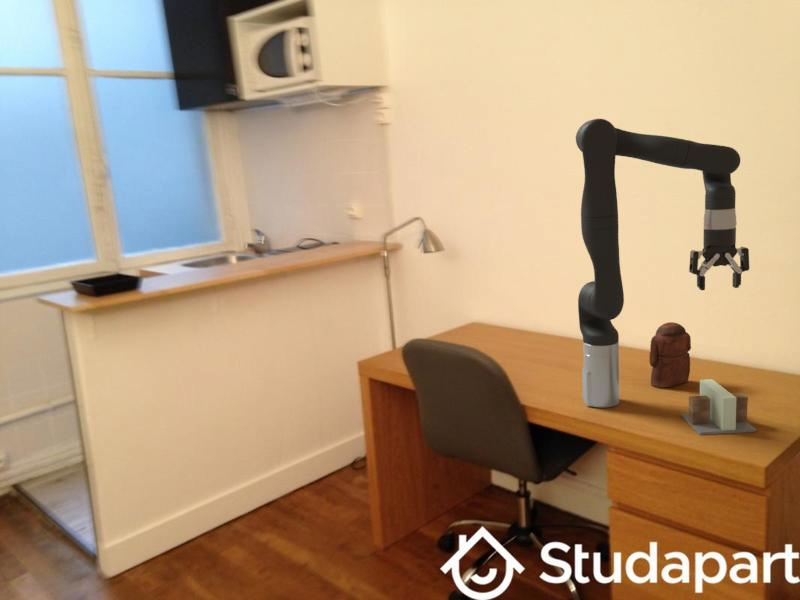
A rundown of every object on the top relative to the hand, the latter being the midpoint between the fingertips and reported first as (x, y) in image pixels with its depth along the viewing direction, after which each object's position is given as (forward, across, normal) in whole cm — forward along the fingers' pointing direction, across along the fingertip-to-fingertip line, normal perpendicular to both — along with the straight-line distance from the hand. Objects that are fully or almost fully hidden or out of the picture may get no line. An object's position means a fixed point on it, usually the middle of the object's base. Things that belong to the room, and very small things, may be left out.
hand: (718, 288), depth 180 cm
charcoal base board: (+30, +6, +17) cm, 35 cm away
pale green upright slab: (+30, +6, +16) cm, 34 cm away
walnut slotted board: (+30, +6, +17) cm, 35 cm away
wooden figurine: (+30, +8, -14) cm, 34 cm away
